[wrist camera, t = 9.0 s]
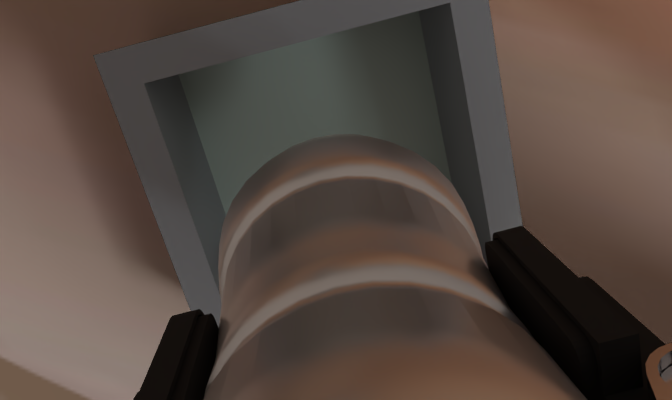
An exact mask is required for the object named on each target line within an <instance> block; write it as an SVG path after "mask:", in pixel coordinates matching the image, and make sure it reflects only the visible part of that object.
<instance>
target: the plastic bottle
mask: <svg viewBox="0 0 672 400" xmlns="http://www.w3.org/2000/svg"><path fill="white" fill-rule="evenodd" d="M218 272H219V291H220V297H221V303H222V305H221V314H220V323H219V332H218V341H217V349H216V358H215V363H214V366H213V369H212V372H211V375H210V378H209V380H208V383H207V386H206V389H205V395H204V400H587V399H586V397H585V396H584V395H583V394H582V393H581V391H580V390H579V389H578V388H577V387H576V386H575V384H574V383H573V382H572V381H571V380H570V378H569V377H568V376H567V375H566V374H565V373H564V371H563V370H562V369H561V368H560V367H559V365H558V364H557V363H556V362H555V361H554V360H553V358H552V357H551V356H550V355H549V354H548V352H547V351H546V350H545V349H544V348H543V347H542V346H541V345H540V344H539V343H538V342H537V341H536V340H535V339H534V338H533V336H532V334H531V333H530V331H529V330H528V329H527V328H526V327H525V325H524V324H523V323H522V322H521V321H520V320H519V318H518V317H517V316H516V315H515V314H514V313H513V311H512V310H511V309H510V307H509V305H508V304H507V302H506V300H505V298H504V296H503V294H502V292H501V291H500V289H499V287H498V285H497V284H496V282H495V280H494V278H493V276H492V275H491V273H490V271H489V269H488V266H487V264H486V262H485V261H484V259H483V255H482V251H481V246H480V243H479V240H478V237H477V234H476V231H475V228H474V225H473V223H472V220H471V218H470V216H469V214H468V211H467V209H466V207H465V205H464V202H463V201H462V199H461V198H460V196H459V194H458V193H457V191H456V189H455V188H454V186H453V185H452V183H451V182H450V181H449V180H448V179H447V178H446V177H445V176H444V175H443V174H442V173H441V172H440V171H439V170H438V168H437V167H436V166H434V165H433V164H431V163H430V162H429V161H427V160H426V159H424V158H423V157H421V156H420V155H418V154H417V153H415V152H413V151H411V150H409V149H406V148H404V147H401V146H399V145H397V144H394V143H392V142H389V141H386V140H382V139H378V138H373V137H368V136H364V135H359V134H334V135H328V136H322V137H316V138H312V139H309V140H307V141H304V142H301V143H299V144H296V145H293V146H291V147H290V148H288V149H286V150H285V151H283V152H282V153H280V154H278V155H277V156H275V157H273V158H272V159H271V160H269V161H268V162H267V163H265V164H264V165H263V166H262V167H261V168H260V169H259V170H258V171H257V172H256V173H255V174H253V175H252V176H251V177H250V178H249V179H248V180H247V181H246V182H245V184H244V185H243V187H242V188H241V189H240V191H239V192H238V194H237V195H236V196H235V198H234V199H233V201H232V203H231V205H230V208H229V210H228V212H227V215H226V217H225V219H224V222H223V226H222V232H221V237H220V243H219V261H218Z"/></svg>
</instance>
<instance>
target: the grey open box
mask: <svg viewBox="0 0 672 400" xmlns="http://www.w3.org/2000/svg"><path fill="white" fill-rule="evenodd" d="M93 57H94V59H95V62H96V64H97V67H98V70H99V72H100V75H101V77H102V80H103V83H104V85H105V88H106V91H107V93H108V96H109V98H110V101H111V104H112V106H113V109H114V111H115V114H116V117H117V119H118V122H119V125H120V127H121V130H122V132H123V135H124V138H125V140H126V143H127V145H128V148H129V151H130V153H131V156H132V159H133V161H134V164H135V166H136V169H137V172H138V174H139V177H140V179H141V182H142V185H143V187H144V190H145V193H146V195H147V198H148V200H149V203H150V206H151V208H152V211H153V213H154V216H155V219H156V221H157V224H158V227H159V229H160V232H161V234H162V237H163V240H164V242H165V245H166V248H167V250H168V253H169V255H170V258H171V261H172V263H173V266H174V268H175V271H176V274H177V276H178V279H179V282H180V284H181V287H182V289H183V292H184V295H185V297H186V300H187V302H188V305H189V308H190V310H191V311H193V310H197V309H200V310H202V312H203V313H204V315H206V314H210V313H211V314H212V315H213V316H214V318H215V320H216V323H217V325H218V328H219V323H220V314H221V305H222V303H221V297H220V291H219V272H218V261H219V243H220V237H221V232H222V226H223V222H224V219H225V217H226V215H227V212H228V210H229V208H230V205H231V203H232V201H233V199H234V198H235V196H236V195H237V194H238V192H239V191H240V189H241V188H242V187H243V185H244V184H245V182H246V181H247V180H248V179H249V178H250V177H251V176H252V175H253V174H255V173H256V172H257V171H258V170H259V169H260V168H261V167H262V166H263V165H264V164H265V163H267V162H268V161H269V160H271V159H272V158H273V157H275V156H277V155H278V154H280V153H282V152H283V151H285V150H286V149H288V148H290V147H291V146H293V145H296V144H299V143H301V142H304V141H307V140H309V139H312V138H316V137H322V136H328V135H334V134H359V135H364V136H368V137H373V138H378V139H382V140H386V141H389V142H392V143H394V144H397V145H399V146H401V147H404V148H406V149H409V150H411V151H413V152H415V153H417V154H418V155H420V156H421V157H423V158H424V159H426V160H427V161H429V162H430V163H431V164H433V165H434V166H436V167H437V168H438V170H439V171H440V172H441V173H442V174H443V175H444V176H445V177H446V178H447V179H448V180H449V181H450V182H451V183H452V185H453V186H454V188H455V189H456V191H457V193H458V194H459V196H460V198H461V199H462V201H463V202H464V205H465V207H466V209H467V211H468V214H469V216H470V218H471V220H472V223H473V225H474V228H475V231H476V234H477V237H478V240H479V243H480V246H481V251H482V255H483V259H484V261H485V262H486V264H487V266H488V263H487V258H486V252H485V242H489V241H493V240H492V239H493V233H495V232H499V231H503V230H507V229H510V228H514V227H518V226H523V225H522V218H521V212H520V205H519V199H518V192H517V185H516V179H515V172H514V166H513V159H512V152H511V146H510V139H509V133H508V126H507V119H506V113H505V106H504V100H503V93H502V86H501V80H500V73H499V66H498V60H497V53H496V47H495V40H494V33H493V27H492V20H491V14H490V7H489V0H299V1H296V2H292V3H288V4H284V5H281V6H277V7H273V8H269V9H266V10H262V11H258V12H254V13H251V14H247V15H243V16H239V17H236V18H232V19H228V20H224V21H220V22H217V23H213V24H209V25H205V26H202V27H198V28H194V29H190V30H187V31H183V32H179V33H175V34H172V35H168V36H164V37H160V38H157V39H153V40H149V41H145V42H142V43H138V44H134V45H130V46H126V47H123V48H119V49H115V50H111V51H108V52H104V53H100V54H96V55H93Z"/></svg>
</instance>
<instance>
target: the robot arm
mask: <svg viewBox="0 0 672 400" xmlns="http://www.w3.org/2000/svg"><path fill="white" fill-rule="evenodd" d="M492 240H493V241H489V242H485V252H486V258H487V263H488V269H489V271H490V273H491V275H492V276H493V278H494V280H495V282H496V284H497V285H498V287H499V289H500V291H501V292H502V294H503V296H504V298H505V300H506V302H507V304H508V305H509V307H510V309H511V310H512V311H513V313H514V314H515V315H516V316H517V317H518V318H519V320H520V321H521V322H522V323H523V324H524V325H525V327H526V328H527V329H528V330H529V331H530V333H531V334H532V336H533V338H534V339H535V340H536V341H537V342H538V343H539V344H540V345H541V346H542V347H543V348H544V349H545V350H546V351H547V352H548V354H549V355H550V356H551V357H552V358H553V360H554V361H555V362H556V363H557V364H558V365H559V367H560V368H561V369H562V370H563V371H564V373H565V374H566V375H567V376H568V377H569V378H570V380H571V381H572V382H573V383H574V384H575V386H576V387H577V388H578V389H579V390H580V391H581V393H582V394H583V395H584V396H585V397H586V399H587V400H672V343H669V344H666V345H665V344H664V343H663V342H662V341H661V340H660V339H659V338H658V337H656V336H655V335H654V334H653V333H652V332H651V331H650V330H648V329H647V328H646V327H645V326H644V325H643V324H642V323H641V322H639V321H638V320H637V319H636V318H635V317H634V316H633V315H632V314H630V313H629V312H628V311H627V310H626V309H625V308H624V307H623V306H621V305H620V304H619V303H618V302H617V301H616V300H615V299H613V298H612V297H611V296H610V295H609V294H608V293H607V292H606V291H604V290H603V289H602V288H601V287H600V286H599V285H598V284H597V283H595V282H594V281H593V280H592V279H590V278H589V277H580V278H578V277H577V276H576V275H575V274H574V273H573V272H572V271H571V270H570V269H569V268H567V267H566V266H565V265H564V264H563V263H562V262H561V261H560V260H559V259H558V258H557V257H556V256H554V255H553V254H552V253H551V252H550V251H549V250H548V249H547V248H546V247H545V246H544V245H542V244H541V243H540V242H539V241H538V240H537V239H536V238H535V237H534V236H533V235H532V234H531V233H529V232H528V231H527V230H526V229H525V228H524V227H523V226H518V227H514V228H510V229H507V230H503V231H499V232H495V233H493V239H492ZM218 332H219V328H218V325H217V323H216V320H215V318H214V316H213V315H212V314H211V313H210V314H206V315H204V313H203V312H202V310H200V309H197V310H193V311H189V312H186V313H182V314H178V315H174V316H172V317H171V318H170V320H169V322H168V325H167V327H166V330H165V332H164V334H163V337H162V339H161V342H160V344H159V346H158V349H157V351H156V353H155V356H154V358H153V361H152V363H151V365H150V368H149V370H148V372H147V375H146V377H145V380H144V382H143V384H142V387H141V389H140V391H139V392H138V393H137V394H136V396H135V397H134V400H204V395H205V389H206V386H207V383H208V380H209V378H210V375H211V372H212V369H213V366H214V363H215V358H216V349H217V341H218Z"/></svg>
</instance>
